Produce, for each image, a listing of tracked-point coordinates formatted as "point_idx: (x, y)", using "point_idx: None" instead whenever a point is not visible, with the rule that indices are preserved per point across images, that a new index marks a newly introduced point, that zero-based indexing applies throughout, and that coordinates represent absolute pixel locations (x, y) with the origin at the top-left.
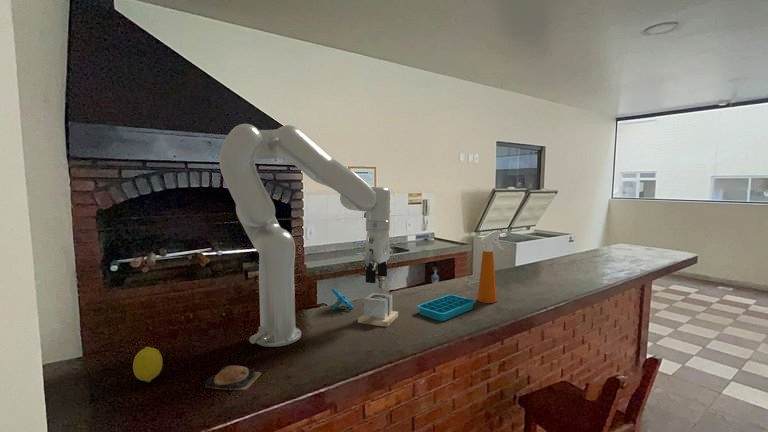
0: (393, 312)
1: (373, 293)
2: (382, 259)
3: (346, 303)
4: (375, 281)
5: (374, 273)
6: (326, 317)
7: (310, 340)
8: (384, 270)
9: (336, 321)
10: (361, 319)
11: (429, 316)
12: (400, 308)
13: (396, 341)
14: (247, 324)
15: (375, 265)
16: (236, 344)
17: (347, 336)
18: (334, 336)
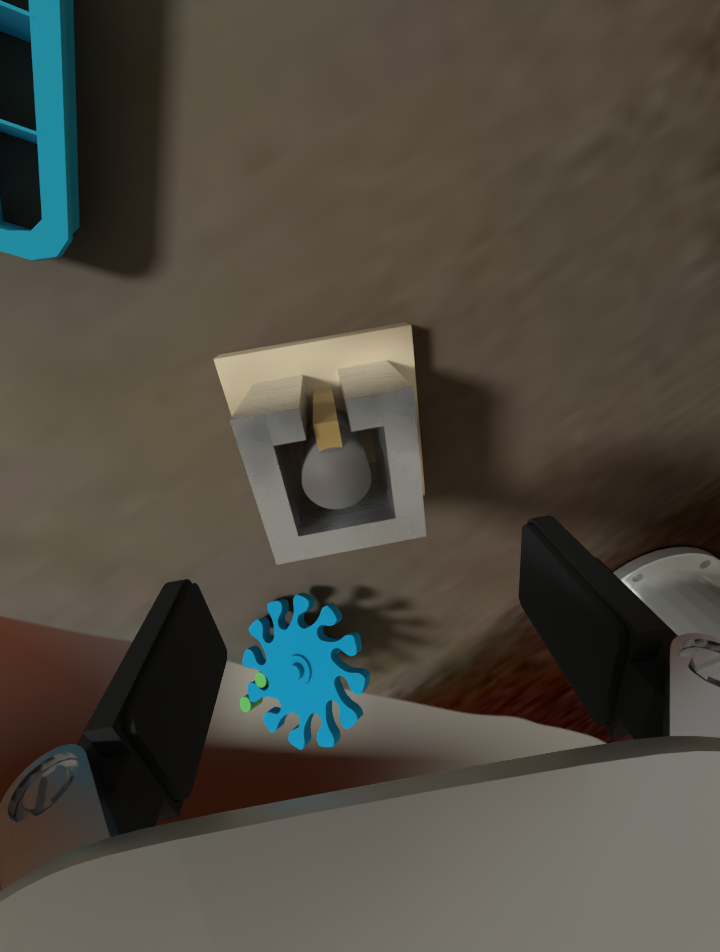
0: (244, 380)
1: (287, 552)
2: (672, 866)
3: (320, 628)
4: (544, 523)
5: (627, 599)
6: (421, 612)
7: (646, 518)
8: (174, 657)
9: (444, 560)
10: (421, 475)
11: (72, 114)
12: (88, 414)
13: (582, 151)
14: (567, 721)
15: (697, 727)
16: None
17: (581, 428)
18: (593, 472)
